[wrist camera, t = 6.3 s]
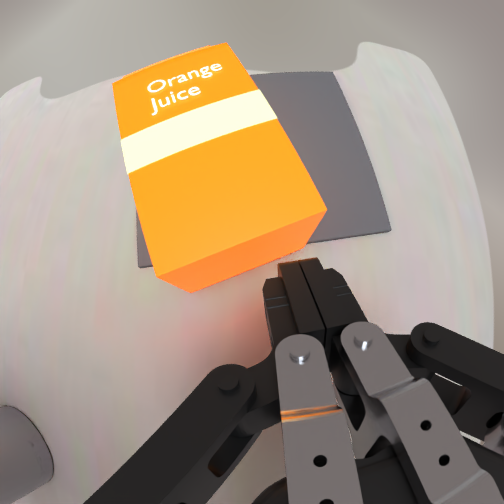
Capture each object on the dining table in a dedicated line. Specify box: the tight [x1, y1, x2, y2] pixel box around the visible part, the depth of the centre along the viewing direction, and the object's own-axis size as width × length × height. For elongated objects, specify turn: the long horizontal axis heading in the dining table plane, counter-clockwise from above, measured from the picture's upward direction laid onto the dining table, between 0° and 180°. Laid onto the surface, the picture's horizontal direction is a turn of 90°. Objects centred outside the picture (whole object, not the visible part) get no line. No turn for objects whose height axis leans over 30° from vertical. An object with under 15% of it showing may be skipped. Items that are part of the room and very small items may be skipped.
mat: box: [136, 72, 391, 268], centre depth 24 cm, size 20×18×1 cm
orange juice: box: [112, 43, 327, 293], centre depth 19 cm, size 8×9×20 cm
